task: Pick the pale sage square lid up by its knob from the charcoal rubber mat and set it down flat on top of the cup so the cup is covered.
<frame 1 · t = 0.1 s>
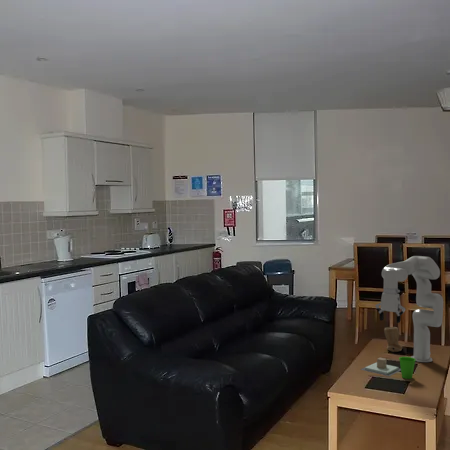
hand: (389, 321, 296), 31 cm above the table, tool pointing down, fingers open, 9 cm apart
cup: (406, 378, 293), on the table
mat: (381, 370, 308), on the table
lid: (381, 369, 308), point 1 cm above the table, touching mat
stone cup: (392, 349, 355), on the table
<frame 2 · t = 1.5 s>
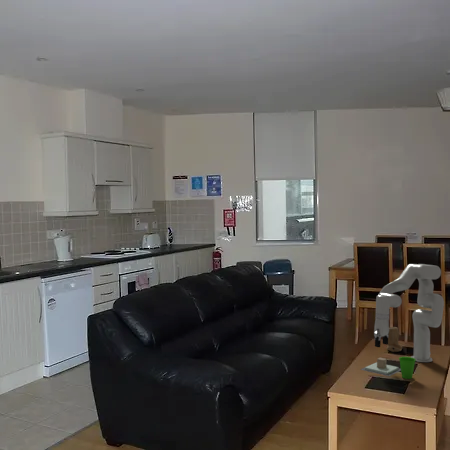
hand: (381, 345, 307), 15 cm above the table, tool pointing down, fingers open, 9 cm apart
nothing on the table moved.
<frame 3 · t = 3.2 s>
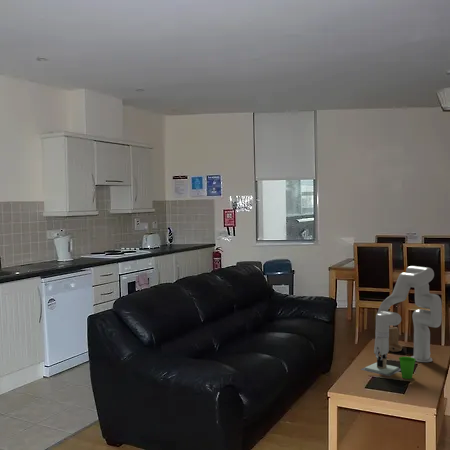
hand: (381, 365, 308), 3 cm above the table, tool pointing down, fingers closed on lid, 4 cm apart
lid: (381, 369, 308), point 1 cm above the table, touching gripper, mat
everything else where it was.
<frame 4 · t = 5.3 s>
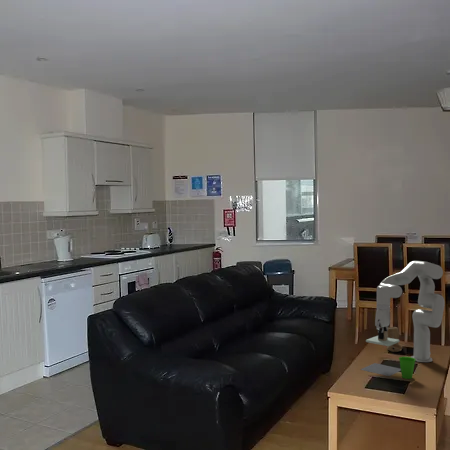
hand: (382, 337, 307), 19 cm above the table, tool pointing down, fingers closed on lid, 4 cm apart
lid: (382, 341, 307), point 17 cm above the table, touching gripper
everything else where it was.
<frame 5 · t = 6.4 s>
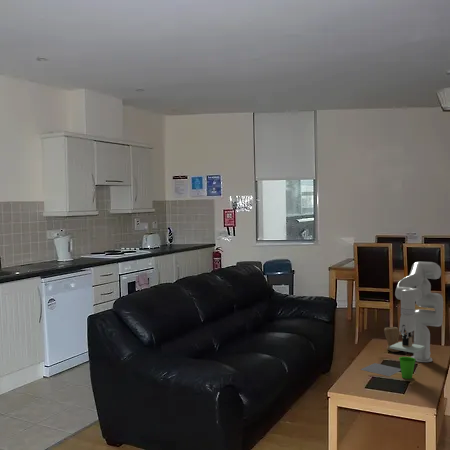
hand: (407, 344, 293), 19 cm above the table, tool pointing down, fingers closed on lid, 4 cm apart
lid: (407, 348, 293), point 17 cm above the table, touching gripper
everything else where it was.
when the fingers open (15 cm above the table, at t = 7.5 s): lid drops 1 cm, resting on cup.
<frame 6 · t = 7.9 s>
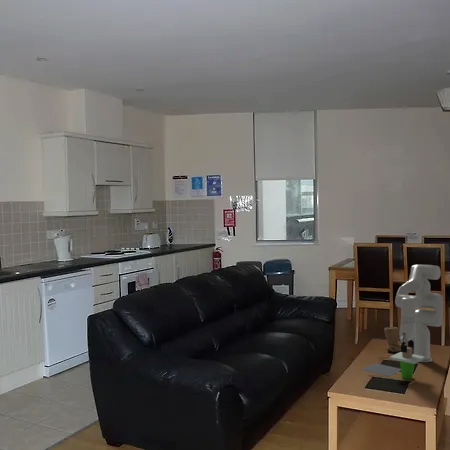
hand: (407, 350, 293), 16 cm above the table, tool pointing down, fingers open, 8 cm apart
cup: (406, 378, 293), on the table, touching lid
lid: (407, 358, 293), point 11 cm above the table, touching cup
everything else where it was.
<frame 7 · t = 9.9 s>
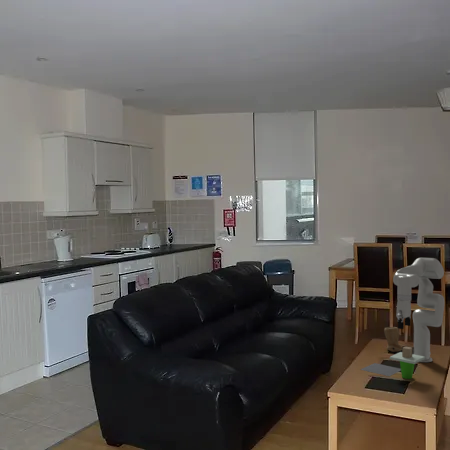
hand: (404, 327, 301), 27 cm above the table, tool pointing down, fingers open, 9 cm apart
nothing on the table moved.
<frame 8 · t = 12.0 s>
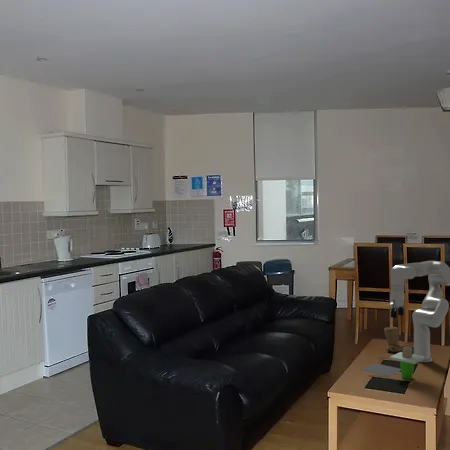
hand: (397, 316, 314), 30 cm above the table, tool pointing down, fingers open, 9 cm apart
nothing on the table moved.
at the end: lid 0.1 cm off-centre on the cup, point 11.2 cm above the cup's base; lid tilted 0°; cup tilted 0° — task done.
